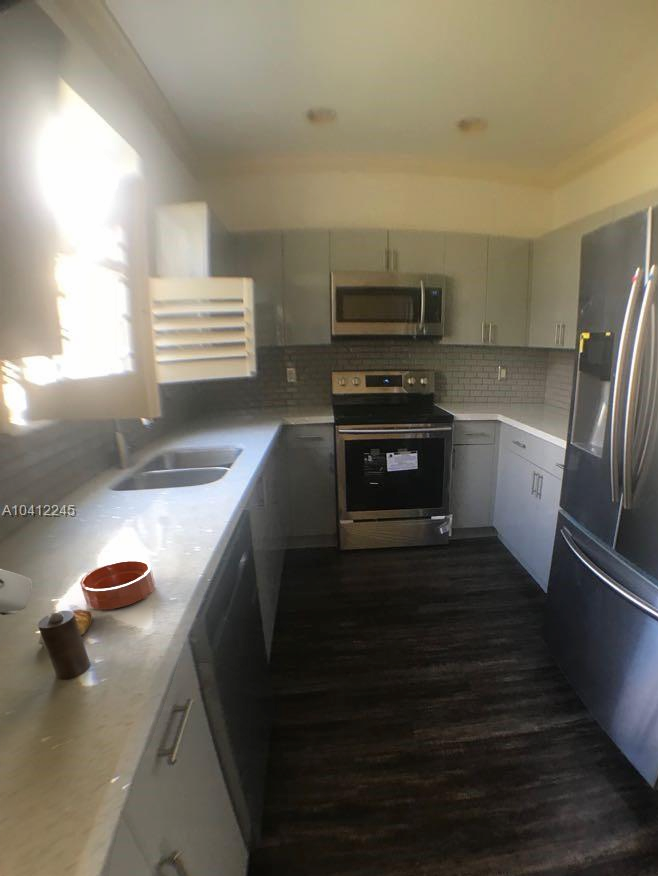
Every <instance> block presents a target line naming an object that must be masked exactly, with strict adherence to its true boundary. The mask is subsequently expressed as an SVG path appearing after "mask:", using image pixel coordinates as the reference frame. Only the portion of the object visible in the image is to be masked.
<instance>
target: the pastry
mask: <svg viewBox="0 0 658 876" xmlns="http://www.w3.org/2000/svg"><path fill="white" fill-rule="evenodd" d="M71 611H72V612H73V613H74V615H75V618H76V621H77V625H78V628H79V631H80V634H81V636H83V635H85V633H87V630H88V629H89V627H90V625H91V624H92V621H93V618H92V613H91V612H90V611H89V610H85V609H84V610H83V609H75V610H71ZM37 643H38V644H39V645H41V646H42V647H44V648H46V646H45V643H44V641H43V638H42V635H41V632H39V635H38V638H37Z"/></svg>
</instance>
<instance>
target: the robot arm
mask: <svg viewBox="0 0 658 876" xmlns="http://www.w3.org/2000/svg"><path fill="white" fill-rule="evenodd" d="M32 587H33V584H32V579H31V578H29V577H27V576H24V575H22V574H19V573H17V572H13V571H9V570H6V569H3V568H0V615H1V616H7V615H8V616H9V615H16V614H18V612H19V611H22V610H24V609H26V607H27V606H28V604H29V602H30V599H31V594H32V589H33V588H32Z"/></svg>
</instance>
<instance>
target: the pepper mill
mask: <svg viewBox="0 0 658 876" xmlns="http://www.w3.org/2000/svg"><path fill="white" fill-rule="evenodd" d="M72 611H73V610H59V611H53V612H51V613H50V614H48V615H46V616H44V617H43V618H41V619H40V620H38V623H37V627H38V629H39V633H41V635H42V638H43V641H44V643H45V646H46V647H45V649H46V651H47V655H48V657H49V659H50V663H51V665H52V668H53V670H54V673H55V676H56V678H58V679H59V680H71V679H74V678H76V677H79V676H81V675H82V674H84V673H85V672H87V671H88V670H89V668H90V667H91V661H90V658H89V655H88V652H87V650H86V646H85V643H84V640H83V637H82V635H81V634H80V631H79V628H78V625H77V621H76V618H75V615H74V613H73V612H72Z"/></svg>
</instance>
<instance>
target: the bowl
mask: <svg viewBox="0 0 658 876" xmlns="http://www.w3.org/2000/svg"><path fill="white" fill-rule="evenodd" d="M79 583H80V587H81V590H82V594H83V597H84V600H85V603H86V606H88V607H90V608H91V609H95V610H112V609H118V608H123V607H126V606H129V605H132V604H135V603H137V602H138V601H141V600H143V599H144V598H146V597H147V596H148V595H150V594H151V593H152V592H153V591H154V590H155V587H156V582H155V576H154V573H153V570H152V566H151V564H150V563H149V562H147V561H145V560H143V559H126V560H125V559H123V560H119V561H113V562H111V563H107V564H103V565H102V566H99V567H97V568H95V569H93V570H91V571H89V572H88V573H86V574H85V575H84V576H83V577H82V578H81V580H80V582H79Z"/></svg>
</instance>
